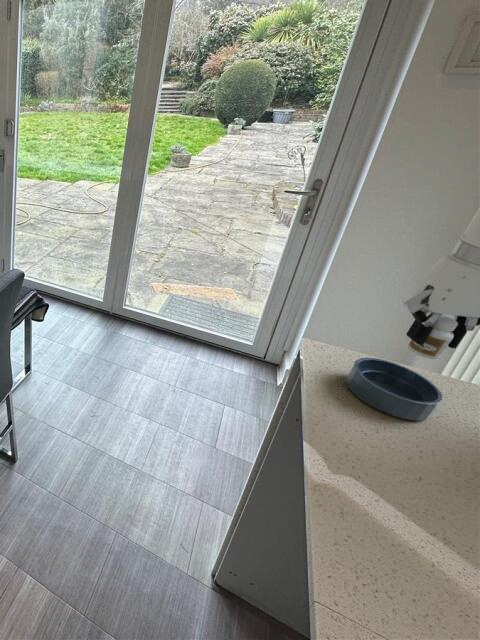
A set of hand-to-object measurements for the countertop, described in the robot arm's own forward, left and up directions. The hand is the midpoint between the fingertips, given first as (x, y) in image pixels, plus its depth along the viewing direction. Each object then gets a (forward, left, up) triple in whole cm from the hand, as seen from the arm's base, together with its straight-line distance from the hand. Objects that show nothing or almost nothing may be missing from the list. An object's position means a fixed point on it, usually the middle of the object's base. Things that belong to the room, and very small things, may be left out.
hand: (430, 340), depth 77 cm
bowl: (-1, -2, -16) cm, 16 cm away
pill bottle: (0, 0, -3) cm, 3 cm away
